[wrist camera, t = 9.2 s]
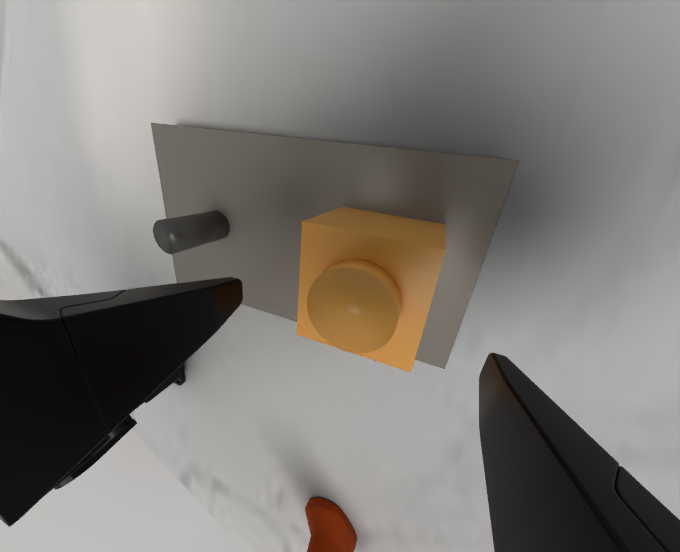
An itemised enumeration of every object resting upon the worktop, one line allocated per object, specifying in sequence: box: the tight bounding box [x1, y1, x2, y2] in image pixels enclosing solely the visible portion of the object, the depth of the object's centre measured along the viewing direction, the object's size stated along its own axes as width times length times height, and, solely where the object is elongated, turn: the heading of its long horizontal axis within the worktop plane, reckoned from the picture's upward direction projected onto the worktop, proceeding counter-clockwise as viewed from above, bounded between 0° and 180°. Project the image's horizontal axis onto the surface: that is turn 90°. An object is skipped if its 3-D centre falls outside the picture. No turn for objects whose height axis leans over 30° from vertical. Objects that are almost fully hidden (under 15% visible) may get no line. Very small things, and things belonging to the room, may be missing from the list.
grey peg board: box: [151, 123, 519, 369], centre depth 16 cm, size 22×12×6 cm, turn 84°
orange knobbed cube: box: [297, 207, 446, 372], centre depth 13 cm, size 6×6×6 cm
